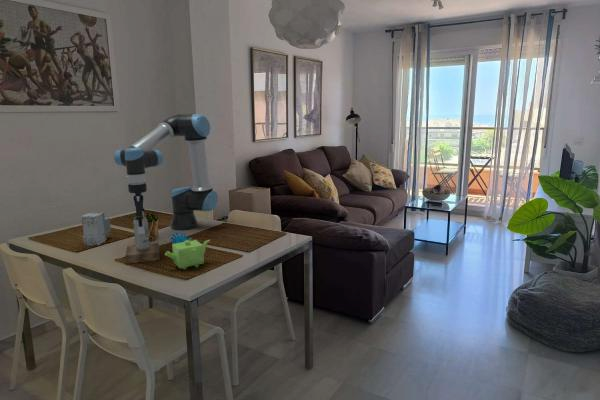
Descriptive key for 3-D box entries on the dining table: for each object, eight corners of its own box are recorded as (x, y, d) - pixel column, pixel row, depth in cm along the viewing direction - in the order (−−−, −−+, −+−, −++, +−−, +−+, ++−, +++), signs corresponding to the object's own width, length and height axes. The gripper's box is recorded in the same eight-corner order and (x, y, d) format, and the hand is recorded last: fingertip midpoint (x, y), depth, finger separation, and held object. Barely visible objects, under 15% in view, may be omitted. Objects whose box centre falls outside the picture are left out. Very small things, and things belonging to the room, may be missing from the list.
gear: (175, 249, 193) (168, 232, 197) (170, 256, 197) (163, 238, 201) (195, 247, 202) (188, 230, 206) (190, 253, 205) (183, 236, 209)
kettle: (211, 261, 182) (210, 237, 180) (198, 273, 169) (197, 247, 166) (180, 259, 185) (179, 235, 183) (165, 270, 171) (163, 245, 169)
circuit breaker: (113, 237, 219) (110, 210, 216) (98, 245, 205) (94, 216, 202) (100, 237, 220) (97, 209, 217) (83, 245, 206) (80, 216, 203)
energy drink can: (146, 251, 184) (143, 218, 181) (133, 251, 184) (130, 218, 181) (152, 246, 190) (149, 215, 187) (139, 246, 190) (136, 215, 187)
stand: (159, 250, 196) (158, 242, 196) (160, 260, 184) (159, 251, 183) (127, 254, 192) (127, 246, 191) (126, 264, 179) (125, 255, 178)
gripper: (129, 179, 191) (133, 223, 195) (126, 188, 168) (131, 238, 173) (146, 178, 193) (150, 221, 198) (146, 187, 170) (150, 236, 175)
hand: (141, 229), depth 185 cm, fingers open, 13 cm apart
